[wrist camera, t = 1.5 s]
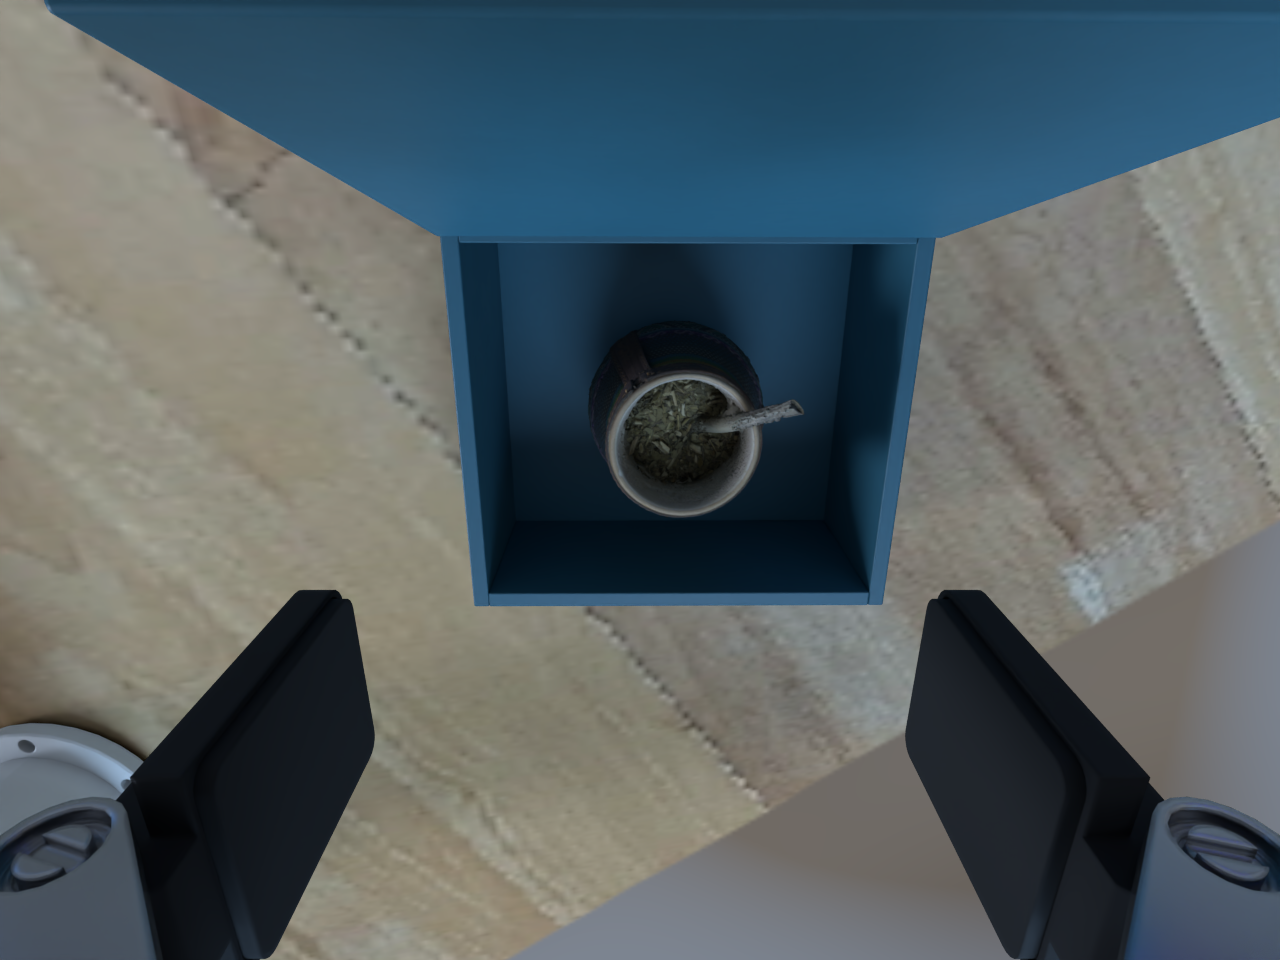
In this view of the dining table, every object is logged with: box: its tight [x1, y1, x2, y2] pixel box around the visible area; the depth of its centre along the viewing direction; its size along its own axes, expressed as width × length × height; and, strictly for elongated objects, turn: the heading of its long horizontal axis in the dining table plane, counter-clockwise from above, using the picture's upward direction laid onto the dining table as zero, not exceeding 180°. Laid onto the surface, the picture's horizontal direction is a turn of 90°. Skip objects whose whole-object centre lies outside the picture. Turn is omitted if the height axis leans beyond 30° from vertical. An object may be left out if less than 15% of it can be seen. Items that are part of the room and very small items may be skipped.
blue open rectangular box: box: [440, 236, 936, 606], centre depth 29 cm, size 14×16×8 cm
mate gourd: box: [588, 320, 804, 518], centre depth 27 cm, size 7×8×10 cm
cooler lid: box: [44, 0, 1280, 238], centre depth 14 cm, size 15×16×5 cm
